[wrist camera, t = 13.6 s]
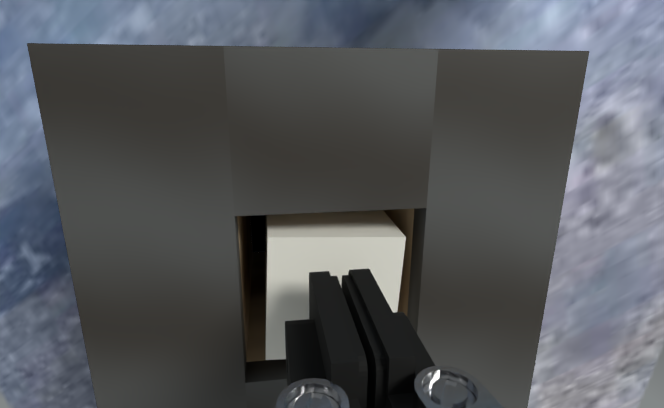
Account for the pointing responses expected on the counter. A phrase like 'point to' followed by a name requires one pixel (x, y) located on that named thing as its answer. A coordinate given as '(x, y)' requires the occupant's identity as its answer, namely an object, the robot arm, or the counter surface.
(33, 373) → the counter surface
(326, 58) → the socket
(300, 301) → the peg
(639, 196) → the counter surface
